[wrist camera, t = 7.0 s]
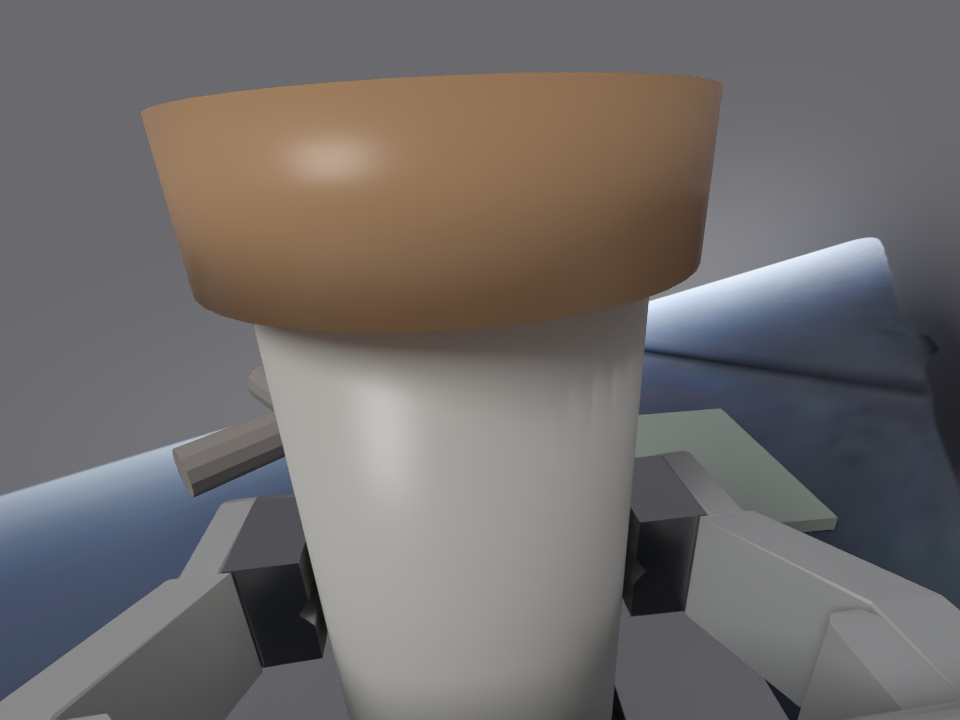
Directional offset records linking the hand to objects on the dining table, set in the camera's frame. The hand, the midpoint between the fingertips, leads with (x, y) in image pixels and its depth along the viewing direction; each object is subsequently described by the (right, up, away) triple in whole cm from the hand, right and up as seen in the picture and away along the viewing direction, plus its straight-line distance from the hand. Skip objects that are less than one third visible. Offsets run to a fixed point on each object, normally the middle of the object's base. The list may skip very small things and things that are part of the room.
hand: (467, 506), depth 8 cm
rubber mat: (+10, -3, +15) cm, 18 cm away
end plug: (0, -9, +3) cm, 9 cm away
